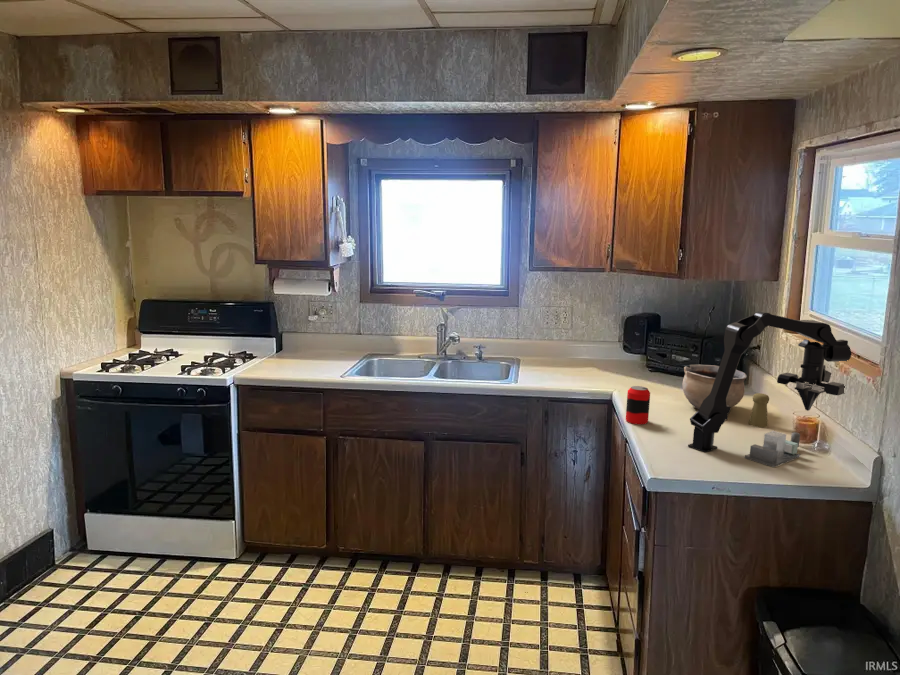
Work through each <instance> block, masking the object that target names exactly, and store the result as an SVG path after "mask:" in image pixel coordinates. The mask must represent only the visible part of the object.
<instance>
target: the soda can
mask: <svg viewBox="0 0 900 675" xmlns="http://www.w3.org/2000/svg"><path fill="white" fill-rule="evenodd" d="M626 394H627V395H626V409H625V420H626V422H627V423H629V424H632V425H646V424H647V423H648V422H649V417H650V416H649V413H650V404H651V403H650V400H651V392H650V390H649V389H648V388H647V387H646V386H642V385H641V386H640V385H632V386H630V388H628V390H627V393H626Z"/></svg>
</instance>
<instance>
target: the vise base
mask: <svg viewBox="0 0 900 675" xmlns="http://www.w3.org/2000/svg"><path fill="white" fill-rule="evenodd" d="M777 454H778V451H776V450H773V449H769V448H766V447H763V446H762V445H759V444H751V445H750V450H749V453H747V454H745V455H744V459H747V460H749V461H753V462H756V463H759V464H763V465H765V466H768V467H772V468H776V467H778V466H780V465H783V464H786V463H789V462H791V461H794V460H796V459H799V458H800V457H801V454H800V453H795V454H790V453H786V452H784V455H783V456H780V457H778V458H777Z"/></svg>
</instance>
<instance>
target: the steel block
mask: <svg viewBox="0 0 900 675" xmlns="http://www.w3.org/2000/svg"><path fill="white" fill-rule="evenodd" d="M786 440H787V433H783V432H780V431H775V430H771V431H769V432H765V433H764V436H763V443H762V444H763V446H762V447H766V448H769V449H773V450H776V451H778V454H777V458H778V457H780V456H783V455H784V451H785V442H786Z"/></svg>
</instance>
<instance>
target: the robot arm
mask: <svg viewBox="0 0 900 675" xmlns="http://www.w3.org/2000/svg"><path fill="white" fill-rule="evenodd" d="M768 326H769V327H772V328H777V329H781V330H786V331H789V332H793V333H794V332H795V333H796V334H798V335H800V336H803V337H804V339H803V340H802V341H801V342H799V343H798V344H797V346H798V347H801V348H804V352H803V359H802V360H803V361H802V363H801V364H800V368H801V376H799V375H798V374H796V373H791V372H784V373H780V374H778V376H777V378H776V379H777V380H776V382H777V384H781V385H788V384H790V383H793V384H795V387H794V390H796V391H797V392H798V394H799V396H800V398H801V401H802V404H803V406H804V409H805V411H807V412H809V411H810V410H811V409H812V407H813V406H814V403H815V401H816V399H817V398H818V397H819V395H820V394H824V393H826V394H828V395H833V396H840V395H844V394H845V393H844V388H845V386H846V385H845V386H844V383H840V382H836V381H832V382H831V377H832V372H830V371H829V370H826V369H827V368H826V364H825V362H827V363H831V362H833V363H834V362H835V363H836V362H838V363H839V361H846V362H848V361H850V359H851V358H852V350H851V347H850V346H849V343H848V342H849V341H848V340H846V339H836V337H835V336H834V334H833V332H832V328H831V325H830V324H828V323H826V322H821V321H819V320H818V321H817V320H811V319H794V318H789V317H786V316H780V315H777V314H772V313H770V312H767V311H763V310H759V311H756V312H754V313H753V314H752V315H749V316H747V317H744V318H741V319H739V320H737V321H735V322H731V323H730V324H728V325H726V327H725V331H724V336H723V346H724V352H723V355H722V357H721V360H720V363H719V365H718V366H719V369H718V372H717V375H716V378H715V381H714V384H713V387H712V390H711V393H710V394H709V395H708V396H707V397H706V398H705V399H704V400H703V402H702V404H701V406H700V408H699V409H697V411H696V412H695V413H694V414H693V415H692V416H691V417H690V418H689V421H690V425H692V426H693V427H694V428H693V435H692V443H689V444H687V447H689V448H691V449H695V450H698V451H701V452H704V453H708V452H711V451H714V450H716V449H718V446H717V445H714V442H715V441H714V439H715V434H717V433H719V431H720V429H721V428H722V425H724V423H725V422H726V421H728V420H729V417H728V416H729V414H730V412H731V410H732V408H731V407H730V406H728V405H727V403H726V398H727V395H728V392H729V389H730V386H731V383H732V380H733V377H734V374H735V372H736V370H738V369H737V368H738V365H739V362H740V359H741V357H742V355H743V354H744V353H745V352H746V351H747V349H749V347H750V346H751V344H752V341H753V340H754V339H755V338H756V337H757V336H759V335H760V334H762V332H763V331H764V330H765V329H766V328H767V327H768ZM806 338H807V339H806ZM809 339H810V340H809ZM811 340H814V341H811ZM821 343H822V344H821ZM847 360H848V361H847Z"/></svg>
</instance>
